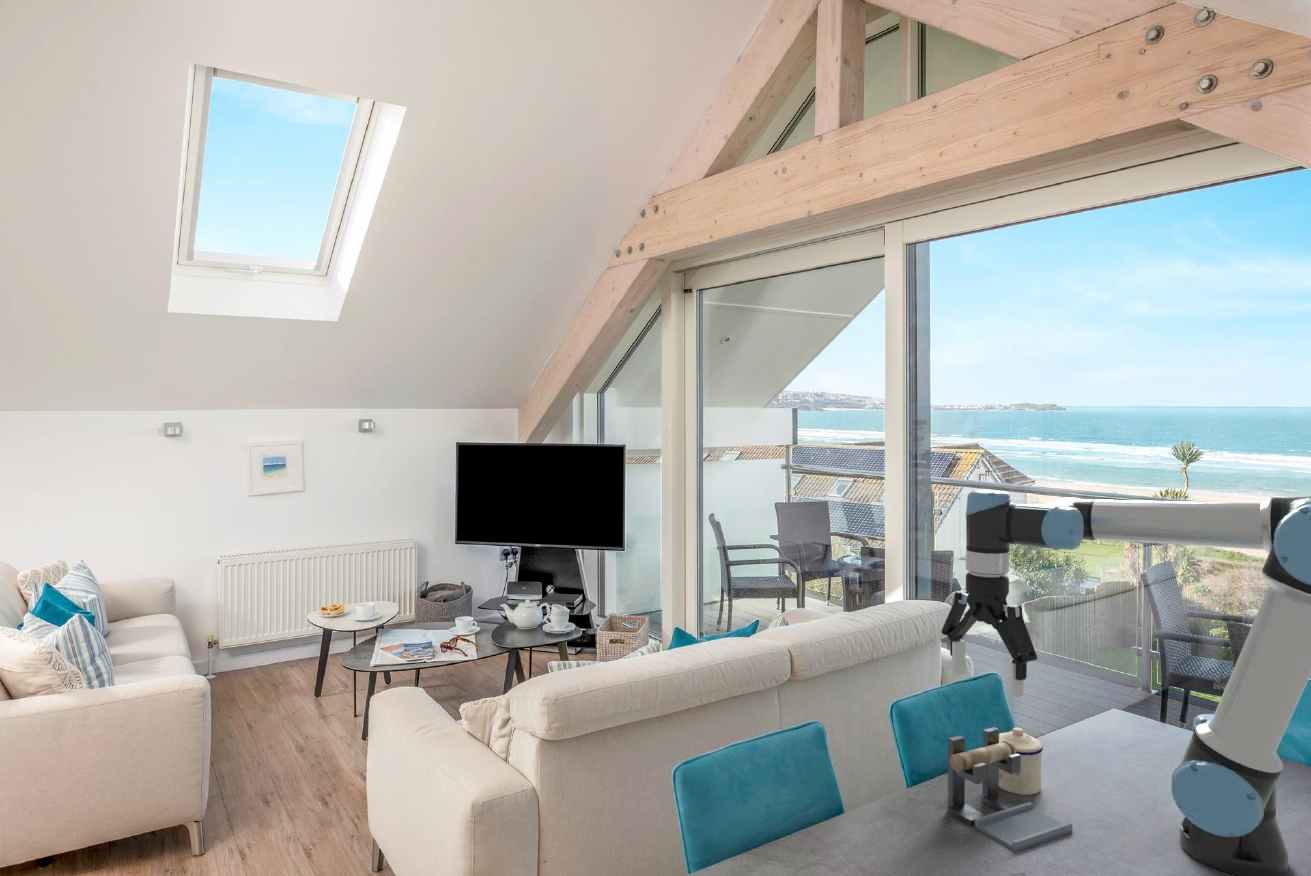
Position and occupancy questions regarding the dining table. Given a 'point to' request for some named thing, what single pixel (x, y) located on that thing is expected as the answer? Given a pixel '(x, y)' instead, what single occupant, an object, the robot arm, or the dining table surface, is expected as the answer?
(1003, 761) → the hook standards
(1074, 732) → the dining table surface
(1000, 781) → the teacup with lid
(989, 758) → the wooden cylinder
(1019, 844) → the tray
